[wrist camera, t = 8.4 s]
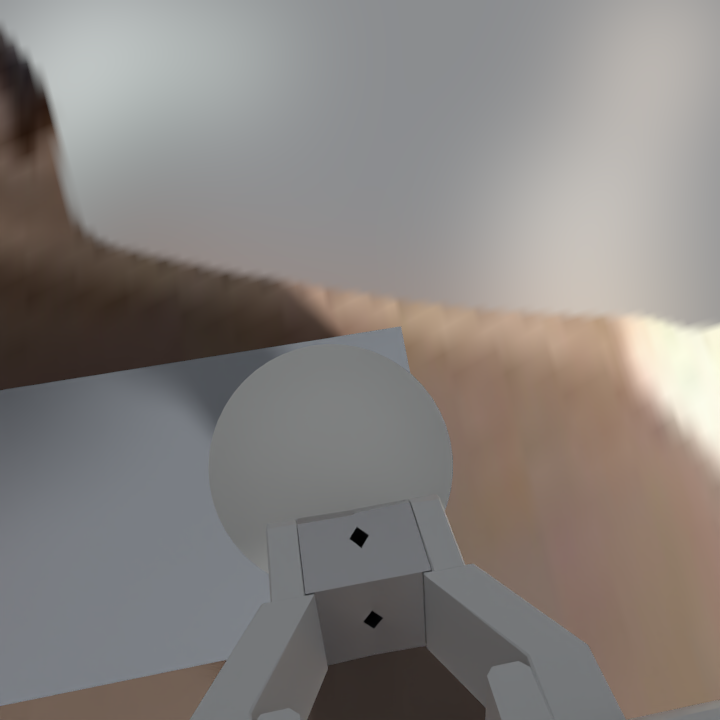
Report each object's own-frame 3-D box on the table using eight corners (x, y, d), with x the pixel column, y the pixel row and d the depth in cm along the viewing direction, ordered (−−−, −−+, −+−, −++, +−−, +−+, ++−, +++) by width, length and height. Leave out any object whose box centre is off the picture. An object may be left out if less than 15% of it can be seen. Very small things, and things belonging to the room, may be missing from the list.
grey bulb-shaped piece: (271, 562, 27) (226, 613, 14) (252, 436, 28) (193, 364, 15) (397, 538, 28) (475, 564, 14) (374, 415, 29) (426, 327, 15)
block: (-72, 678, 30) (-259, 758, 20) (-81, 455, 32) (-255, 430, 22) (415, 582, 32) (458, 612, 22) (376, 379, 34) (400, 326, 24)
